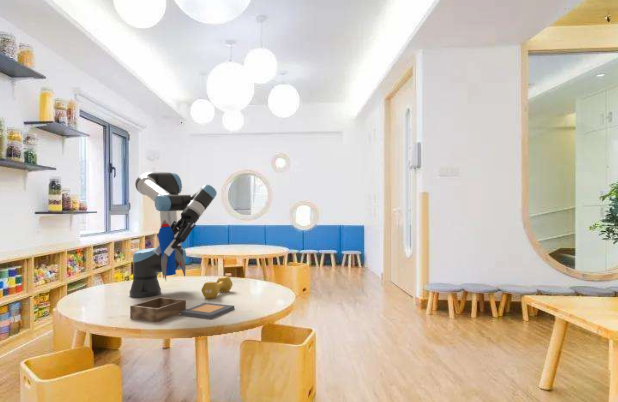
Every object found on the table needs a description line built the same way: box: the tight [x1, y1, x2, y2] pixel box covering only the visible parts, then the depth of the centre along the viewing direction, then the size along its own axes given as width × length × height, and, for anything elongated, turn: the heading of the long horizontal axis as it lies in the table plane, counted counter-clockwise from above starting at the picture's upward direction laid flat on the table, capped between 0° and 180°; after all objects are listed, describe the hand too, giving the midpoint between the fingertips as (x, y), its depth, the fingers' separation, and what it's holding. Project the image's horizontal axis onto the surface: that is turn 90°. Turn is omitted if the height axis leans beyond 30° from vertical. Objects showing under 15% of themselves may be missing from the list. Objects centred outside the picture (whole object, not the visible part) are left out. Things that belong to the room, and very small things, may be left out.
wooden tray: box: [129, 296, 187, 323], centre depth 165 cm, size 15×16×5 cm
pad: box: [179, 302, 235, 320], centre depth 168 cm, size 16×16×2 cm
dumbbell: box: [201, 275, 233, 300], centre depth 200 cm, size 19×9×8 cm, turn 164°
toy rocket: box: [157, 220, 186, 281], centre depth 166 cm, size 11×10×25 cm
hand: (161, 253), depth 162 cm, fingers closed on toy rocket, 7 cm apart
